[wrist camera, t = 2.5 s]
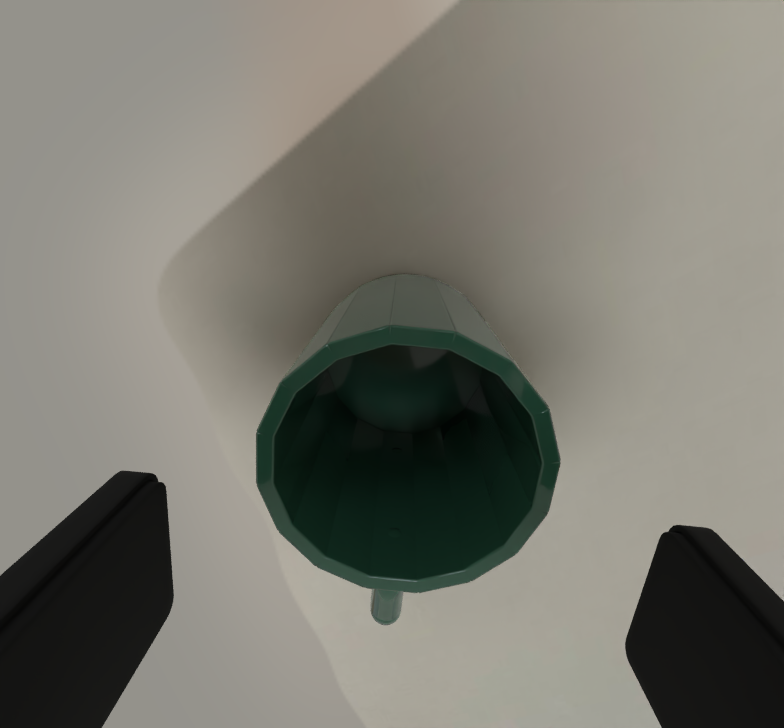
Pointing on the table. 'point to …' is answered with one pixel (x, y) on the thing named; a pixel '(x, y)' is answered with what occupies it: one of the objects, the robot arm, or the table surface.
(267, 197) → the table surface
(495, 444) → the mug
